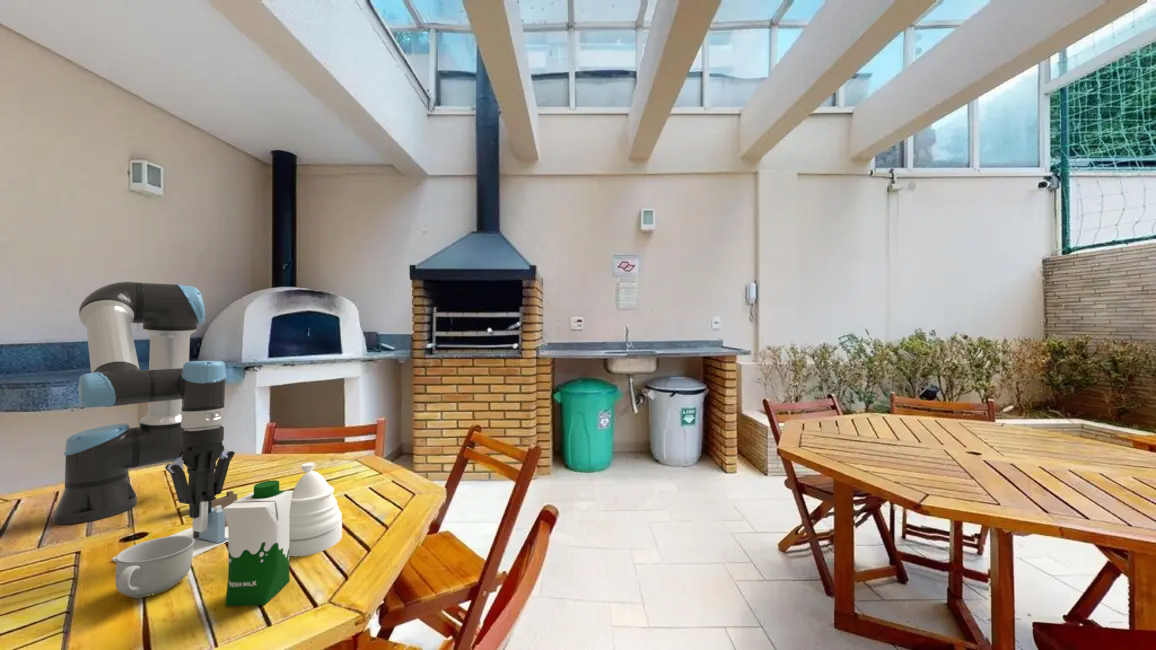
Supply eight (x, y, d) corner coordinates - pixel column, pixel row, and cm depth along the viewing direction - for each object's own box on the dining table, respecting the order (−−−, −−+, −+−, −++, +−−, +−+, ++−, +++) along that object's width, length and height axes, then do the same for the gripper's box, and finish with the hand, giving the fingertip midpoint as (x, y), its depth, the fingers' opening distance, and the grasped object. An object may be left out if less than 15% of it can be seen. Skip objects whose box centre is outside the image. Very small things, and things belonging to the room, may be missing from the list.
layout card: (112, 560, 91) (112, 557, 91) (219, 519, 111) (219, 516, 111) (161, 572, 87) (161, 569, 87) (263, 526, 107) (264, 524, 107)
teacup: (152, 573, 86) (152, 534, 86) (208, 570, 87) (208, 531, 87) (77, 619, 72) (77, 573, 72) (145, 615, 73) (145, 569, 73)
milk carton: (297, 579, 84) (297, 479, 84) (265, 609, 75) (266, 496, 75) (251, 580, 83) (252, 480, 84) (214, 611, 74) (215, 498, 75)
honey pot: (269, 544, 98) (270, 467, 98) (330, 524, 108) (330, 454, 108) (287, 563, 89) (287, 479, 90) (351, 540, 99) (351, 464, 100)
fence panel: (217, 543, 97) (218, 508, 97) (199, 538, 99) (199, 504, 100) (224, 540, 98) (224, 506, 98) (206, 535, 101) (206, 502, 101)
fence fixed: (191, 537, 100) (191, 501, 100) (232, 520, 109) (232, 487, 109) (196, 538, 100) (196, 502, 100) (237, 521, 108) (237, 488, 108)
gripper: (180, 434, 90) (177, 545, 89) (243, 422, 102) (241, 520, 102) (157, 432, 92) (154, 540, 91) (221, 421, 104) (219, 516, 104)
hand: (200, 530), depth 96 cm, fingers closed
